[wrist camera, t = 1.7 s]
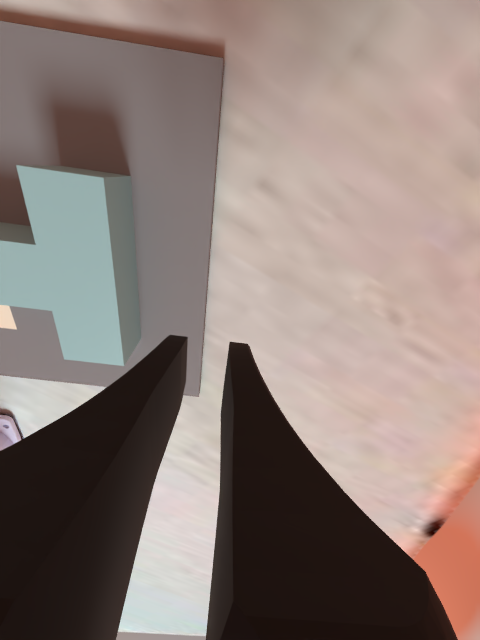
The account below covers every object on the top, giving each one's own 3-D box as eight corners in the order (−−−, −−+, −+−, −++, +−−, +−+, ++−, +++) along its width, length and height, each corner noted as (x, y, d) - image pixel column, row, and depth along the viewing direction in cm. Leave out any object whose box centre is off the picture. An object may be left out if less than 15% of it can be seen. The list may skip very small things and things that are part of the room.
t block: (141, 338, 19) (123, 366, 16) (-1, 321, 18) (-42, 347, 16) (130, 175, 14) (103, 177, 11) (-64, 147, 13) (-140, 142, 11)
